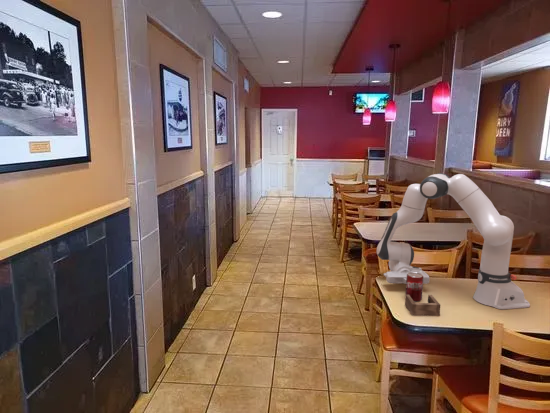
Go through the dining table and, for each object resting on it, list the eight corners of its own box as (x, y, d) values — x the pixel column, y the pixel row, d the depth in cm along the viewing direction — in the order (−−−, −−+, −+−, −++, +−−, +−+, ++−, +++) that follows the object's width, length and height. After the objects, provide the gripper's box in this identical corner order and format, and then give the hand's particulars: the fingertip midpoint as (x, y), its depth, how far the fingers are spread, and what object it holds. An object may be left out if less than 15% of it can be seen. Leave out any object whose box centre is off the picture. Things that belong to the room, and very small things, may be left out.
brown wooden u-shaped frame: (430, 305, 171) (431, 294, 170) (439, 315, 161) (440, 304, 160) (404, 304, 171) (405, 294, 170) (411, 315, 161) (412, 304, 161)
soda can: (423, 303, 173) (425, 278, 171) (406, 301, 174) (408, 277, 172) (420, 296, 180) (421, 272, 178) (404, 295, 181) (405, 271, 179)
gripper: (382, 267, 193) (389, 277, 179) (423, 267, 192) (434, 277, 179) (382, 279, 194) (389, 289, 181) (423, 279, 193) (433, 290, 180)
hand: (411, 283), depth 180 cm, fingers closed, pressing on soda can
